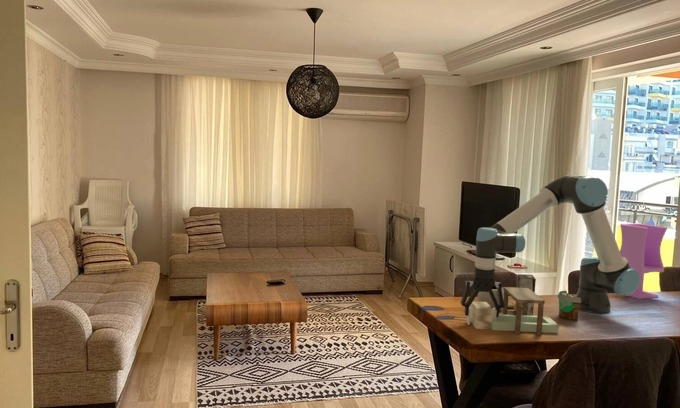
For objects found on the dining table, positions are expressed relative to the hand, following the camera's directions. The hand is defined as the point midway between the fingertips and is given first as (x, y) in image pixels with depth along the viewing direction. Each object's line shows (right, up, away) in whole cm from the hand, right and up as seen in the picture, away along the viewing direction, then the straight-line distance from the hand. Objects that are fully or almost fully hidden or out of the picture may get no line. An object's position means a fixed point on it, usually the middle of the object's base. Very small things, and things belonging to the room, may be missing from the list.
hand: (481, 324), depth 211 cm
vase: (+93, +1, +59) cm, 111 cm away
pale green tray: (+15, -1, 0) cm, 15 cm away
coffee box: (+23, 0, +18) cm, 30 cm away
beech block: (0, 0, 0) cm, 0 cm away
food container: (+39, -1, +15) cm, 42 cm away
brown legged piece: (+15, -1, 0) cm, 16 cm away
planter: (+10, +1, +25) cm, 27 cm away
